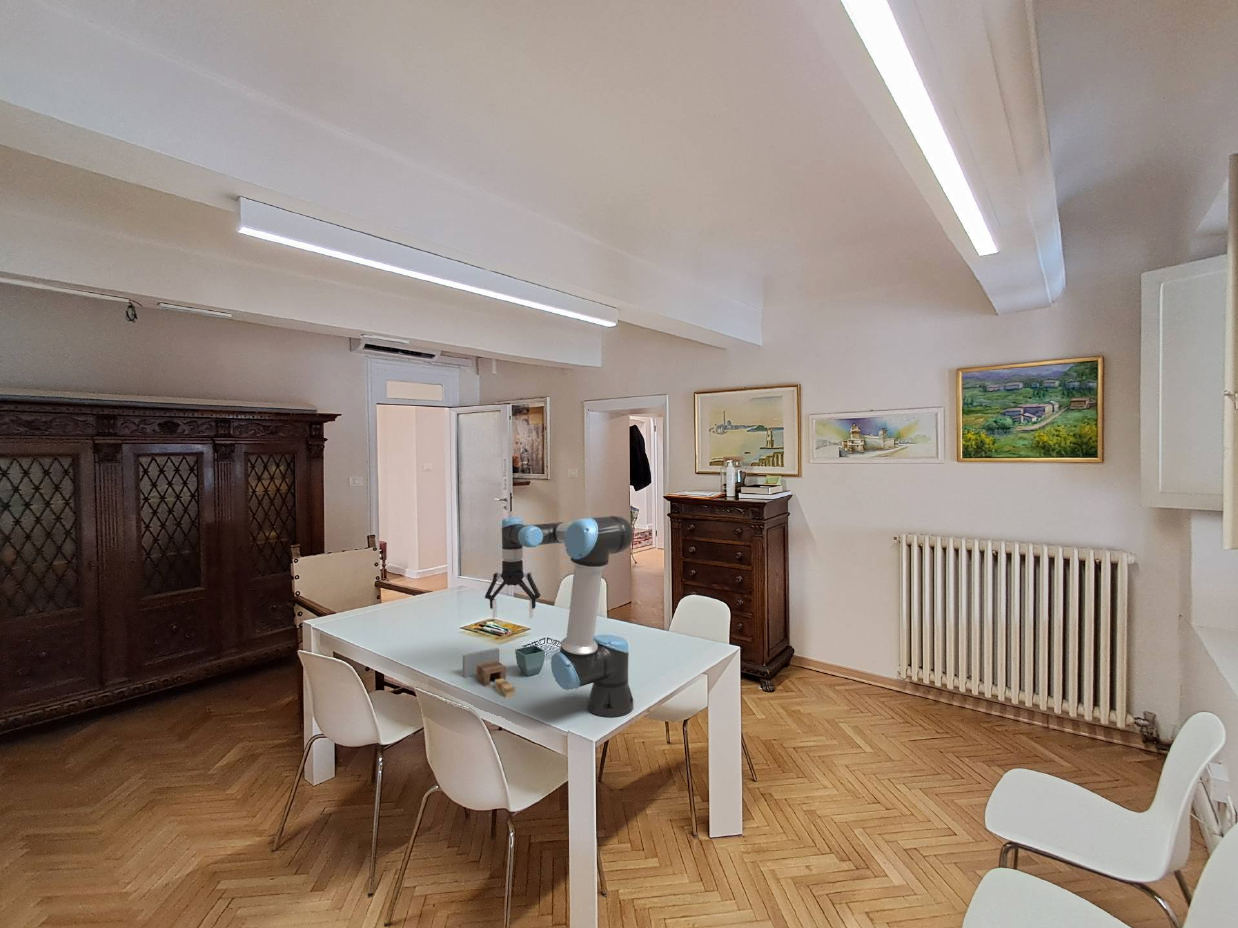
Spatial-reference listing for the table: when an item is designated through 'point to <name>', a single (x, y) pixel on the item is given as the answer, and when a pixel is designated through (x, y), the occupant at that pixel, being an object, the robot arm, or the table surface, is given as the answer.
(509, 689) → the dowel
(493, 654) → the wall
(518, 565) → the robot arm
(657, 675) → the table surface
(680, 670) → the table surface
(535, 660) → the flower pot
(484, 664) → the block
